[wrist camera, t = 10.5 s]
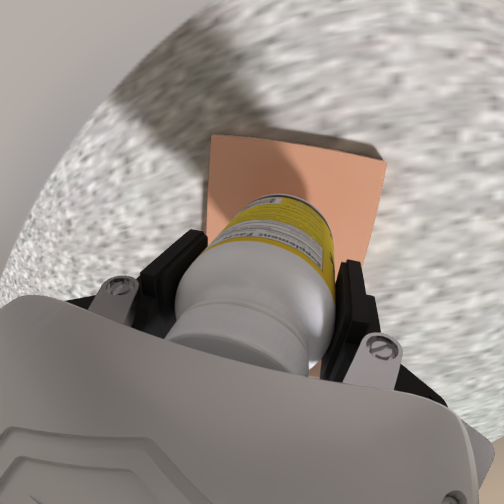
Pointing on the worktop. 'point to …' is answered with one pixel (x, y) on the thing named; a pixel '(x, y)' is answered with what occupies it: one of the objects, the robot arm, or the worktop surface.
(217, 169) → the coaster
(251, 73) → the worktop surface
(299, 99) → the worktop surface
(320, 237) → the supplement bottle
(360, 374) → the robot arm
